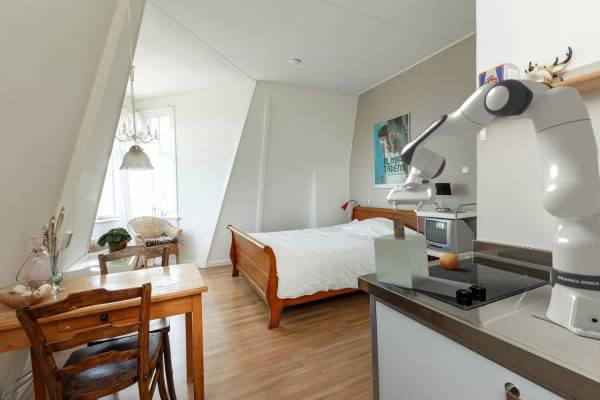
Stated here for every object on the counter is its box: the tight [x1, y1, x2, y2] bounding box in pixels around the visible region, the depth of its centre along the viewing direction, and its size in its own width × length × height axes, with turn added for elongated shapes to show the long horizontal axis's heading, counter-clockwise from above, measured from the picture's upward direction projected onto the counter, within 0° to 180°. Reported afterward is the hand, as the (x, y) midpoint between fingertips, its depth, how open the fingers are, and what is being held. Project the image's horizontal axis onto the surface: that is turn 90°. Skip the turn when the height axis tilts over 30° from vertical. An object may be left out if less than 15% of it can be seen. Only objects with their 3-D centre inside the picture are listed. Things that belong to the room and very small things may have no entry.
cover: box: [373, 216, 430, 290], centre depth 115 cm, size 15×15×26 cm
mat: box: [413, 276, 474, 298], centre depth 106 cm, size 17×17×1 cm
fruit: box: [439, 252, 460, 271], centre depth 129 cm, size 8×8×8 cm
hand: (405, 210), depth 117 cm, fingers open, 8 cm apart
